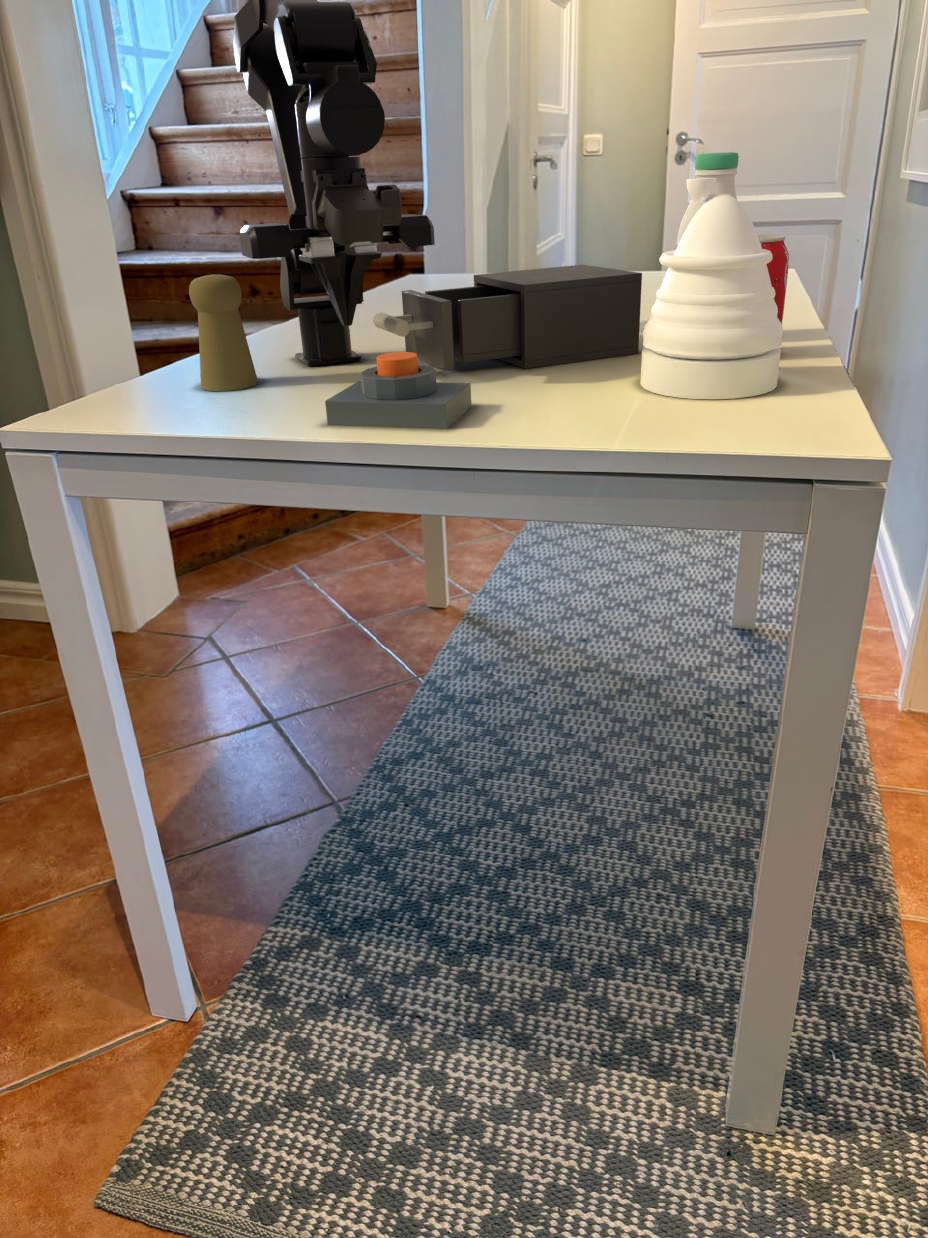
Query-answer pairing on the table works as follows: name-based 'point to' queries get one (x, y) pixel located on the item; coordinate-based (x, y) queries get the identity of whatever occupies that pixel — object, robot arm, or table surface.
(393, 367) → the button
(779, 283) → the soda can
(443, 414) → the control block
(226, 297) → the cork
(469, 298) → the drawer
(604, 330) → the cabinet
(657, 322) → the honey pot
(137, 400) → the table surface
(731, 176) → the milk bottle
